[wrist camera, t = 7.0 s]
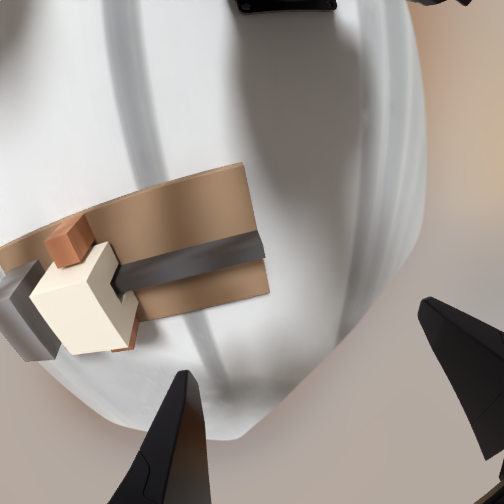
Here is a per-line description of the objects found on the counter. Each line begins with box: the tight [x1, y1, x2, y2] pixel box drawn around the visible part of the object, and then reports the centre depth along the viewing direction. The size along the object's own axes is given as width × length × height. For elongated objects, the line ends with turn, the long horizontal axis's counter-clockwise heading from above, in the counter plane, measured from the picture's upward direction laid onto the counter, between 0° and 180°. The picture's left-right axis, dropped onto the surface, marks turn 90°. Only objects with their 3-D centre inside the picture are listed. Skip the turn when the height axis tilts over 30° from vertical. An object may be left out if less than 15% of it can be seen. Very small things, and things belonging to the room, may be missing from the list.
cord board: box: [0, 162, 270, 362], centre depth 17 cm, size 22×10×6 cm, turn 101°
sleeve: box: [29, 241, 138, 355], centre depth 16 cm, size 5×5×5 cm
